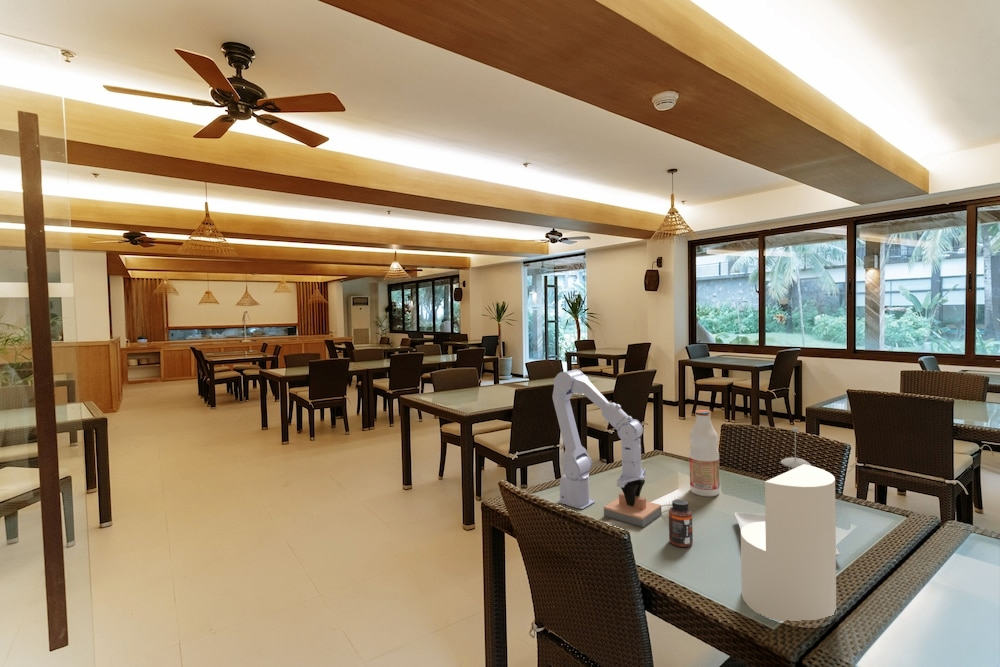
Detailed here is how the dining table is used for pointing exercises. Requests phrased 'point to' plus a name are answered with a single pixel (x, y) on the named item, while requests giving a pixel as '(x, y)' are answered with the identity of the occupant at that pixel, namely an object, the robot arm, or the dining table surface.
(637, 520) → the tub
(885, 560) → the dining table surface
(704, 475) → the fruit juice
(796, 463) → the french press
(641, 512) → the lid
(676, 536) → the supplement bottle
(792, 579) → the white stepped round block
